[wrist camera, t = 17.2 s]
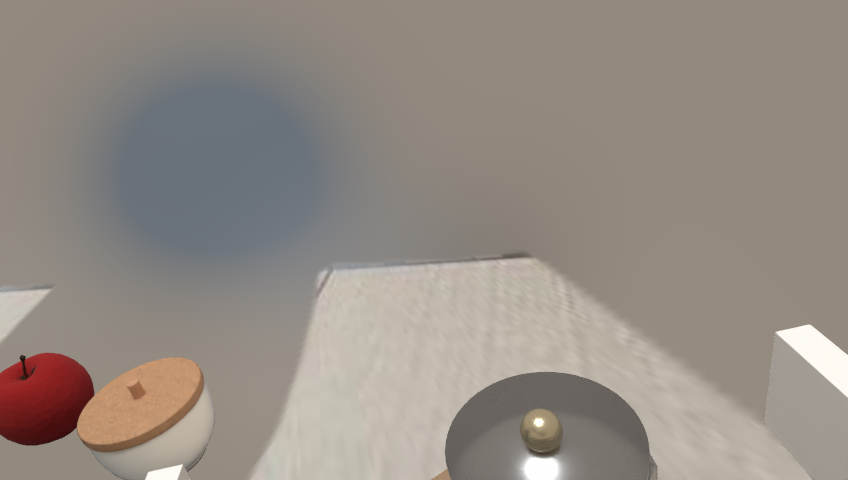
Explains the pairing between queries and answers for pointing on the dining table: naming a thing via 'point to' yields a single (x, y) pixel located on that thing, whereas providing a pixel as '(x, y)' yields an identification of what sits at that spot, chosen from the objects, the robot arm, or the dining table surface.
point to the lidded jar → (149, 419)
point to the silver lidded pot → (548, 433)
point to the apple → (42, 398)
